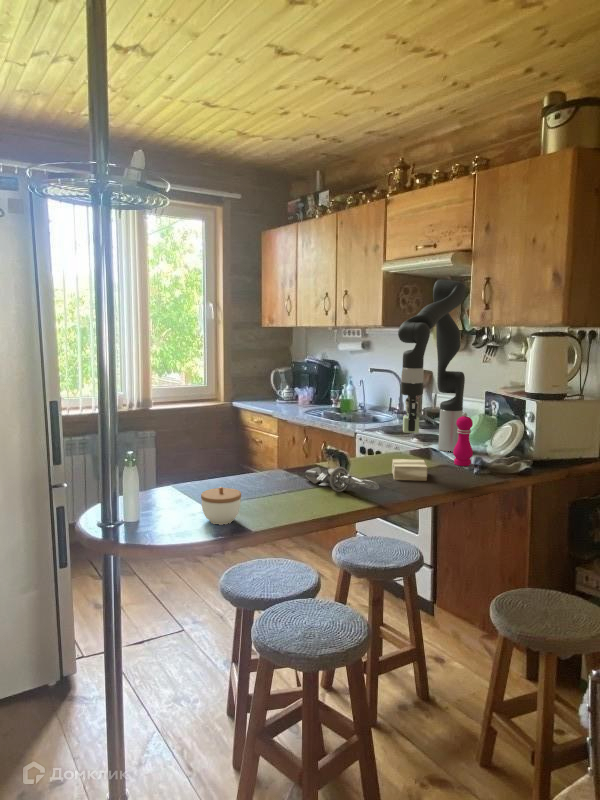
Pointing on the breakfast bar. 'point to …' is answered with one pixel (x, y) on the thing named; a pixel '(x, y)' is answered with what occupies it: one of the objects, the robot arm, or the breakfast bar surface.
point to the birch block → (409, 469)
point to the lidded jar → (221, 504)
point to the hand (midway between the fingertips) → (410, 429)
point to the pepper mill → (463, 441)
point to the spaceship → (338, 479)
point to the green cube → (405, 425)
